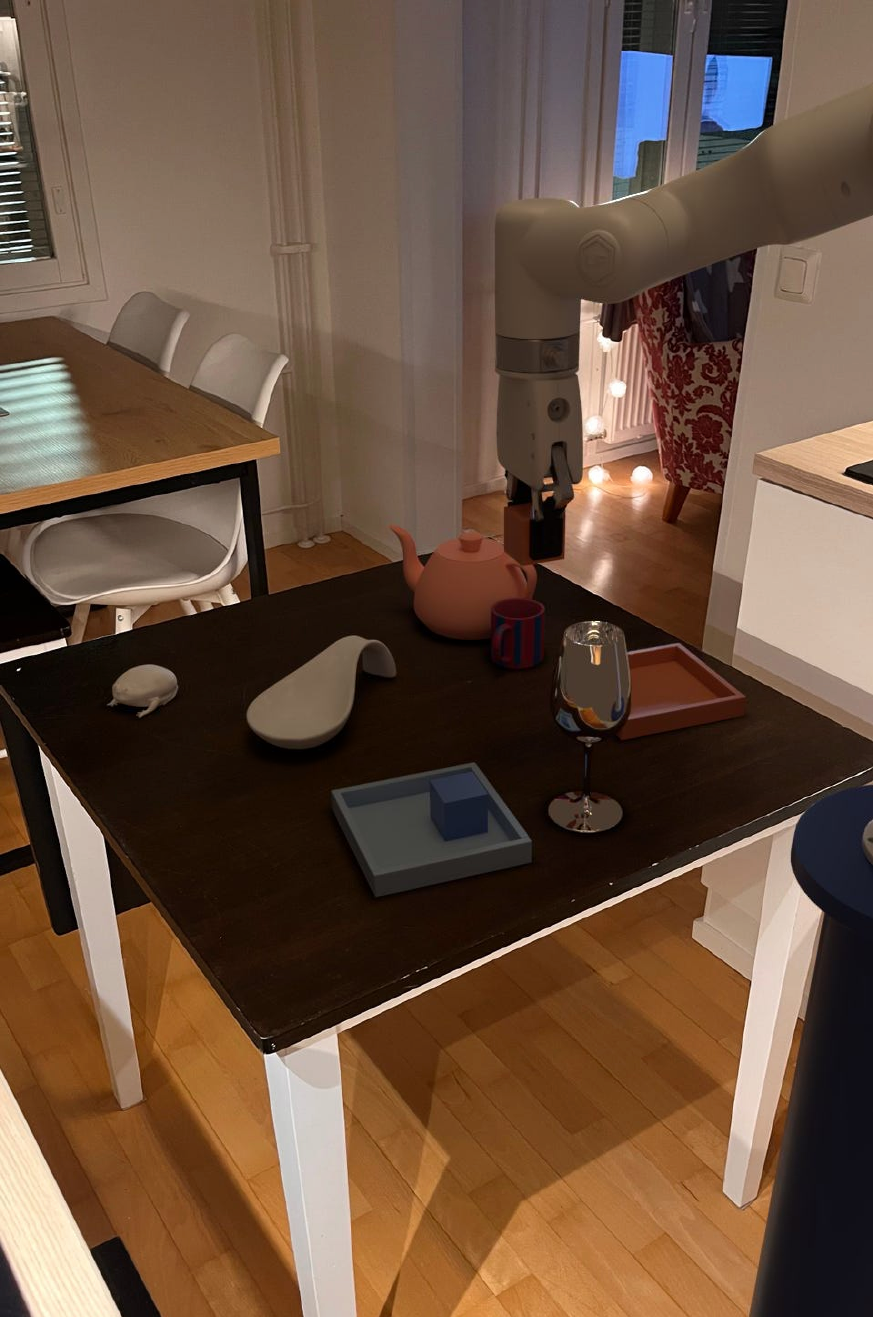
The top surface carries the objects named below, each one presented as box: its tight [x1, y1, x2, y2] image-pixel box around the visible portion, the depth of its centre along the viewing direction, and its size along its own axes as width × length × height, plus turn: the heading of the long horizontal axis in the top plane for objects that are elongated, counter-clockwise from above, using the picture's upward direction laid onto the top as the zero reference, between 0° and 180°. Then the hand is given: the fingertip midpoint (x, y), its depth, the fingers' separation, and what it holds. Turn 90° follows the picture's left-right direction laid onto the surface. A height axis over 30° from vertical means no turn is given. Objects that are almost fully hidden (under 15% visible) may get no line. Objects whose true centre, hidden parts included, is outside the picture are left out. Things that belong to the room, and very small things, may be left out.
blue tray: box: [330, 762, 533, 898], centre depth 117 cm, size 16×16×2 cm
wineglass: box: [547, 620, 632, 834], centre depth 115 cm, size 8×8×20 cm
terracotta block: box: [503, 500, 567, 566], centre depth 114 cm, size 4×4×4 cm
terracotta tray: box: [615, 642, 747, 741], centre depth 140 cm, size 16×16×2 cm
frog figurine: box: [106, 664, 179, 718], centre depth 143 cm, size 8×7×4 cm
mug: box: [490, 598, 546, 670], centre depth 148 cm, size 7×10×7 cm
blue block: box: [429, 772, 488, 841], centre depth 117 cm, size 4×4×4 cm
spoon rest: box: [246, 635, 397, 750], centre depth 137 cm, size 24×12×7 cm, turn 153°
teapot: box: [389, 524, 538, 641], centre depth 158 cm, size 22×16×12 cm
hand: (534, 546), depth 115 cm, fingers closed on terracotta block, 4 cm apart
